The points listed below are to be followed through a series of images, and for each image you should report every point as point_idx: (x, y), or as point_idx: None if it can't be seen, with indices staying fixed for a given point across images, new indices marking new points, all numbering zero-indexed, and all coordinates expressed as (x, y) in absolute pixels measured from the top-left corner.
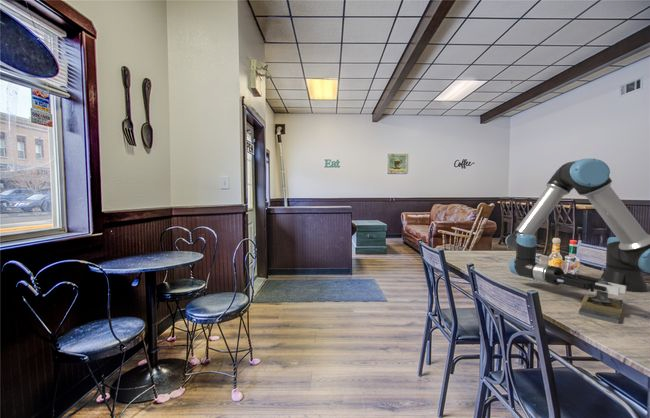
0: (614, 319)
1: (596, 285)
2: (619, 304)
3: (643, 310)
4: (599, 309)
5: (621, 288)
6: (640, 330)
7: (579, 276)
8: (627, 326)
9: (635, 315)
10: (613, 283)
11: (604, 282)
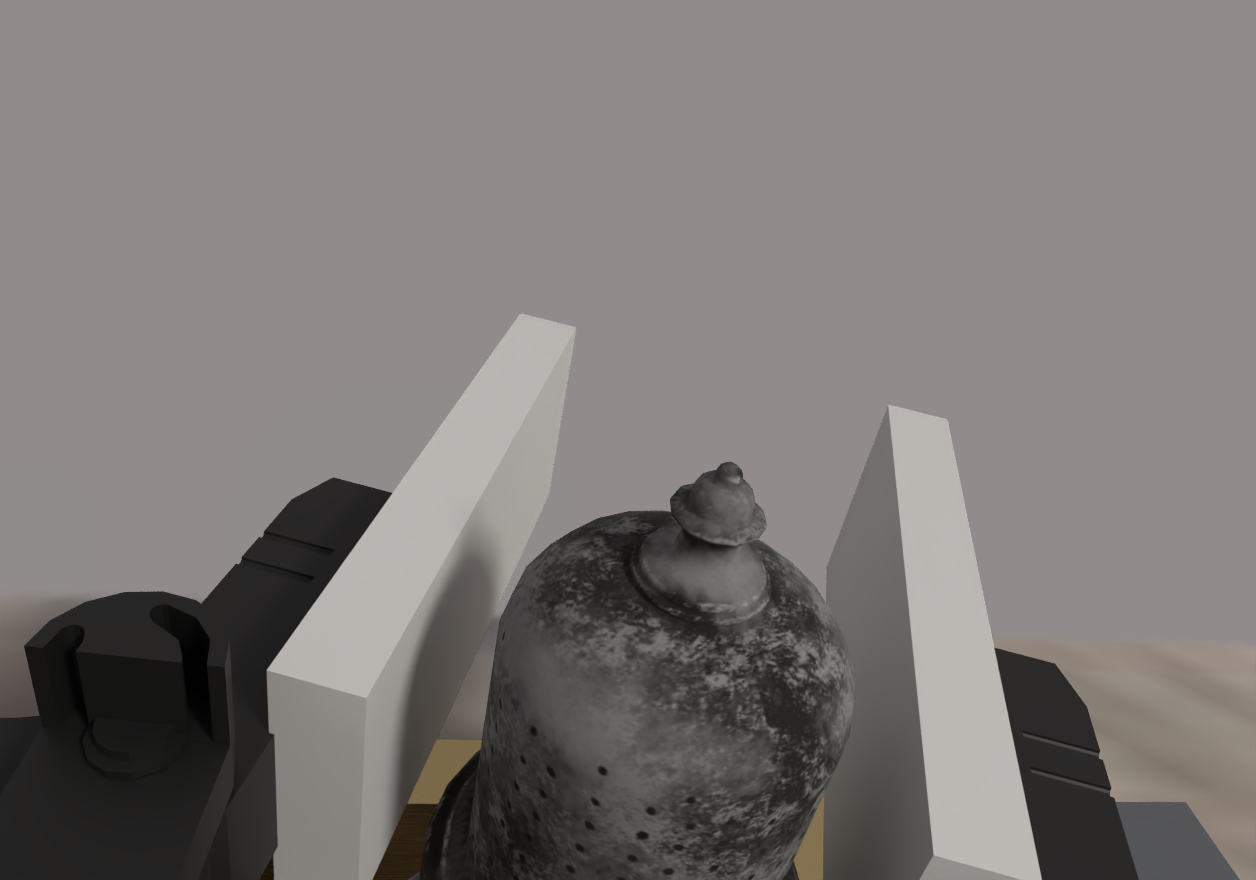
0: (1216, 849)
1: (1107, 875)
2: (433, 774)
3: (55, 605)
4: None
5: (546, 435)
6: (1091, 664)
7: None
8: (1121, 757)
9: (477, 687)
10: (457, 454)
11: (806, 585)
